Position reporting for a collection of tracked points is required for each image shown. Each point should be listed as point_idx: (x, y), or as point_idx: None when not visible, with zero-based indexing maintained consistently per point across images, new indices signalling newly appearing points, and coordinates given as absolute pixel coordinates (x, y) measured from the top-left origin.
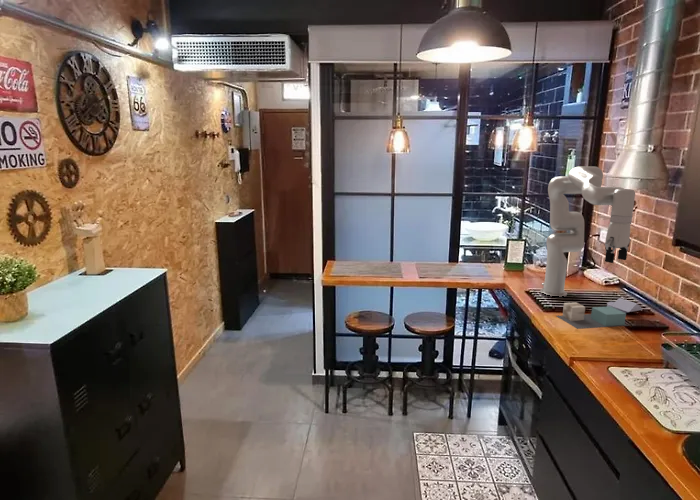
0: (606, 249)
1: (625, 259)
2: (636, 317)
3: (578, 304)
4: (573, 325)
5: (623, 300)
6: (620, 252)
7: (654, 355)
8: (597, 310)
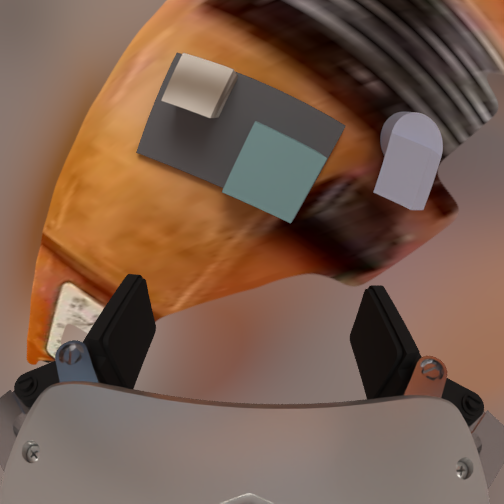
0: (37, 377)
1: (353, 342)
2: None
3: (214, 88)
4: (148, 130)
5: (420, 165)
6: (383, 348)
7: (173, 310)
8: (241, 149)
